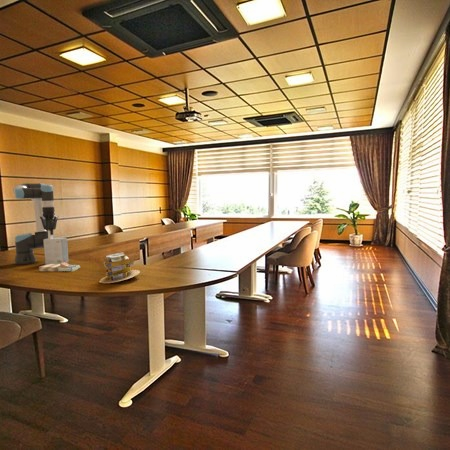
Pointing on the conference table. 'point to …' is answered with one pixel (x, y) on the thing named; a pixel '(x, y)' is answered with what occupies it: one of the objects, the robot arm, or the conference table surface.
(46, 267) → the board
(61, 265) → the terracotta tile
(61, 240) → the hard drive box
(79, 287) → the conference table surface
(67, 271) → the tray
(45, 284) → the conference table surface
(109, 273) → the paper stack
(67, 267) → the slate tile
